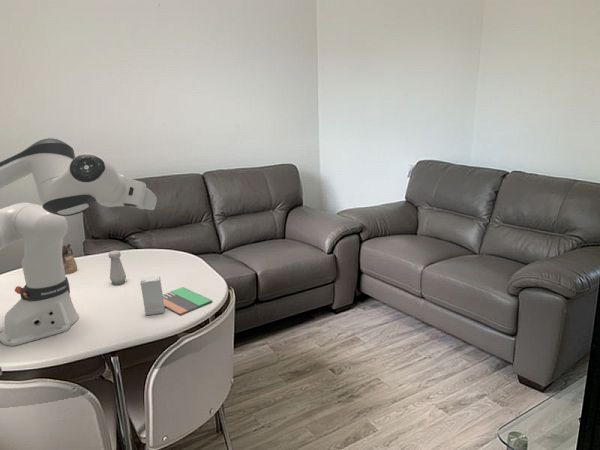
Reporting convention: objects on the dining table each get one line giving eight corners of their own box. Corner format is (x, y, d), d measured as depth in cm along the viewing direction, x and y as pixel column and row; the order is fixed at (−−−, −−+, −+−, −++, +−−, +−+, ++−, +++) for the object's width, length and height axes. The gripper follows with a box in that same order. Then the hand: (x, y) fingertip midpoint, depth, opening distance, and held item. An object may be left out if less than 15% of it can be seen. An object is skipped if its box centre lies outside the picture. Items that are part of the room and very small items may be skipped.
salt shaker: (129, 280, 178) (124, 249, 174) (122, 285, 172) (117, 254, 169) (115, 279, 178) (110, 248, 175) (108, 285, 173) (103, 253, 169)
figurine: (59, 270, 190) (54, 243, 187) (77, 267, 193) (73, 240, 190) (58, 275, 184) (53, 248, 181) (77, 272, 187) (72, 245, 184)
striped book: (180, 315, 147) (180, 313, 147) (151, 300, 159) (151, 298, 158) (212, 302, 156) (212, 300, 156) (183, 288, 168) (183, 286, 168)
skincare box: (164, 307, 153) (160, 274, 149) (164, 313, 149) (160, 279, 145) (145, 310, 151) (141, 277, 148) (144, 316, 147) (140, 282, 144)
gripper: (65, 194, 114) (85, 208, 127) (146, 206, 115) (158, 219, 128) (71, 171, 115) (91, 187, 129) (151, 183, 116) (162, 199, 130)
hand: (125, 203), depth 129 cm, fingers open, 8 cm apart
